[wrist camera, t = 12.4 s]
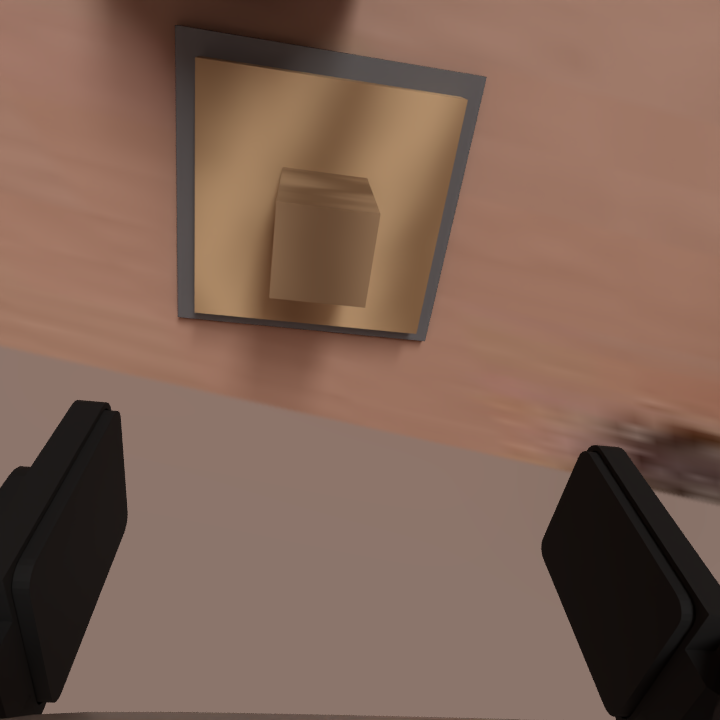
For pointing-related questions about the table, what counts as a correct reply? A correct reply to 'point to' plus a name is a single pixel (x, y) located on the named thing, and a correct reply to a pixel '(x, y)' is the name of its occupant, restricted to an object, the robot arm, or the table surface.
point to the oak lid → (317, 195)
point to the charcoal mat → (320, 63)
